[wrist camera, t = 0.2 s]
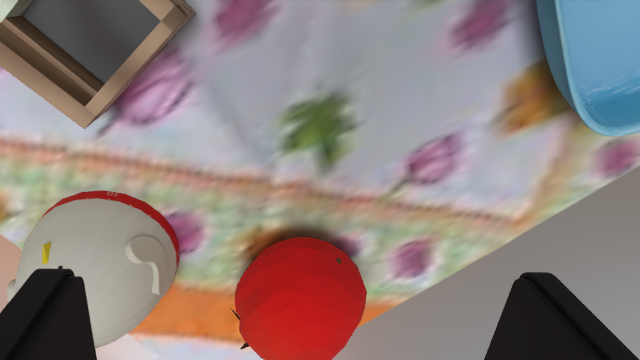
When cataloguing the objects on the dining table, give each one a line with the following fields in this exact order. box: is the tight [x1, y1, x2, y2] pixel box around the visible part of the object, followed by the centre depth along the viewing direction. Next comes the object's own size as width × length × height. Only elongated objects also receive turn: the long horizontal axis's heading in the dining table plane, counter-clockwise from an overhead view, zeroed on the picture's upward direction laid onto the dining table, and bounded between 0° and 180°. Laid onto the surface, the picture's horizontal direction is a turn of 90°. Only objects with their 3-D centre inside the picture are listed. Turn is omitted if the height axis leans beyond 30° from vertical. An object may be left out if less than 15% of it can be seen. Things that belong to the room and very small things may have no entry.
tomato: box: [232, 237, 367, 360], centre depth 42 cm, size 13×13×13 cm
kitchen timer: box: [7, 191, 179, 348], centre depth 36 cm, size 14×14×15 cm
